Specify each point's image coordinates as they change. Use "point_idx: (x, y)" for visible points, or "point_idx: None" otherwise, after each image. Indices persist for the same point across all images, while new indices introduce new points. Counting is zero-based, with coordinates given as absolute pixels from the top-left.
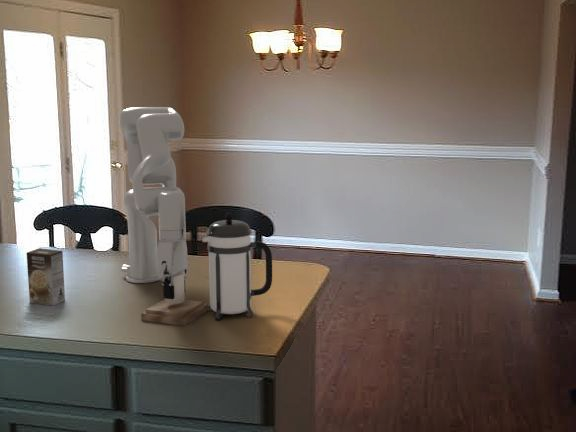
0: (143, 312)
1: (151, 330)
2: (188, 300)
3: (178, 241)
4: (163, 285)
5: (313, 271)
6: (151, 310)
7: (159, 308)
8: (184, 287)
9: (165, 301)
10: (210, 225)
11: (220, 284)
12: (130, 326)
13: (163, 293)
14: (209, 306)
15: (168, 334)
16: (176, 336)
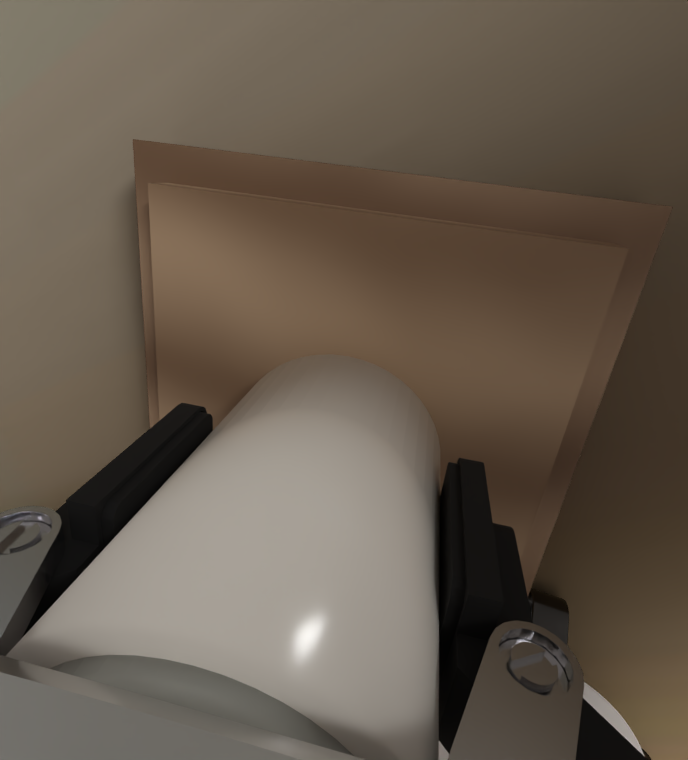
0: (163, 151)
1: (27, 329)
2: (528, 500)
3: None
4: (75, 498)
5: None
6: (153, 253)
7: (220, 313)
8: None
9: (266, 374)
10: None
11: None
12: (14, 125)
13: (151, 427)
14: (535, 609)
15: (26, 452)
16: (24, 499)
